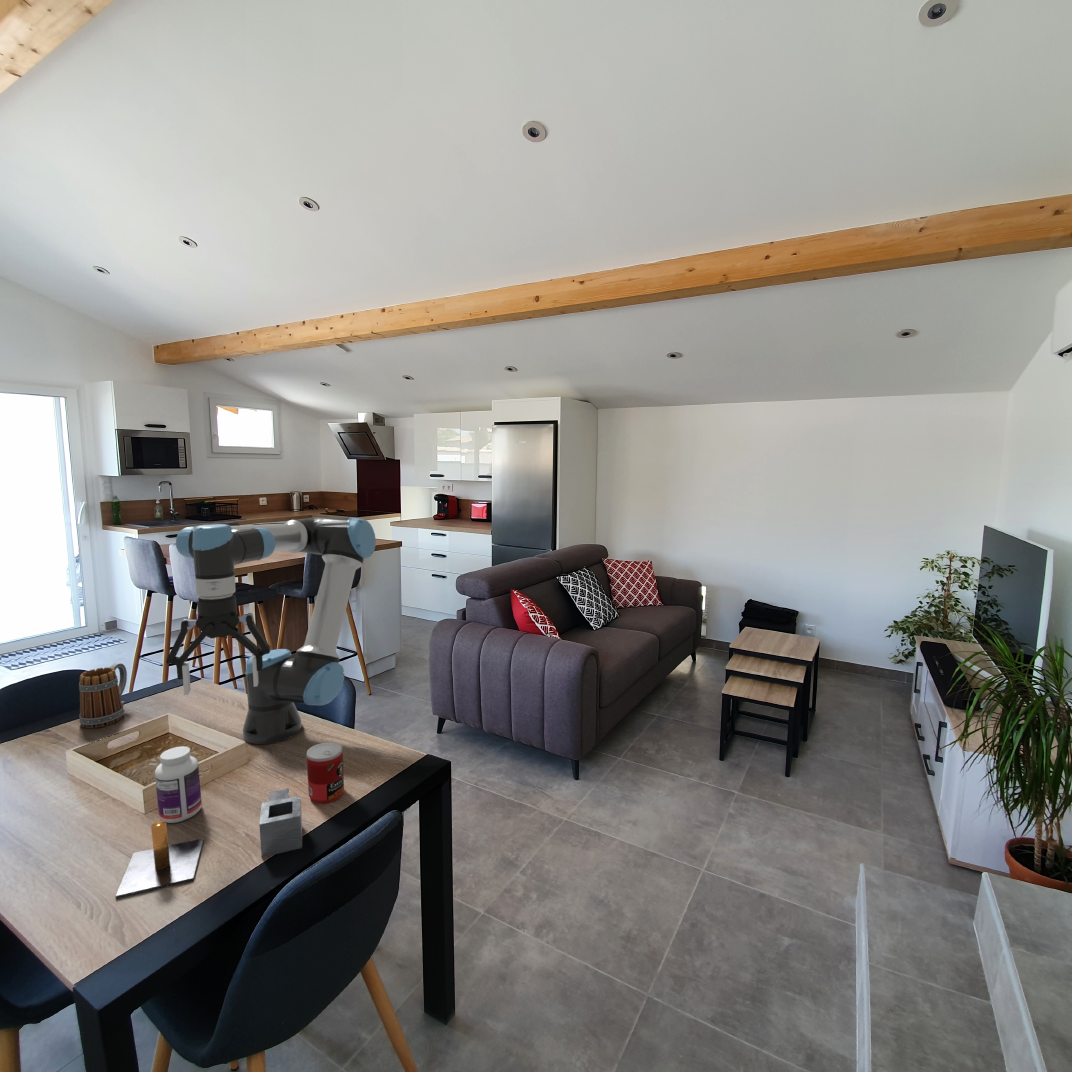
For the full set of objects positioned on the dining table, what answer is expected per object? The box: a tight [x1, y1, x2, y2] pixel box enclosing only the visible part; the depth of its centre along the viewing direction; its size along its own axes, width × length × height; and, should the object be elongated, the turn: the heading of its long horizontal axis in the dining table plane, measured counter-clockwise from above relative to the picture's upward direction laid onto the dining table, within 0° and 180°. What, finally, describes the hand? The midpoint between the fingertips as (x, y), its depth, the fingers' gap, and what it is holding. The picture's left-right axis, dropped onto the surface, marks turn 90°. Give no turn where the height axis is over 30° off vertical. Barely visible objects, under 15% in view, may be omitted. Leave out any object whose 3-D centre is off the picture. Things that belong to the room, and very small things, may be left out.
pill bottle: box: [154, 746, 203, 824], centre depth 125 cm, size 8×8×14 cm
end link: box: [259, 795, 303, 858], centre depth 117 cm, size 7×7×7 cm
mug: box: [78, 662, 128, 729], centre depth 171 cm, size 16×11×15 cm
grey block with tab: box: [267, 788, 290, 802], centre depth 126 cm, size 10×4×3 cm, turn 22°
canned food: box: [305, 741, 345, 804], centre depth 133 cm, size 8×8×11 cm
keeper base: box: [115, 820, 204, 900], centre depth 109 cm, size 12×12×9 cm
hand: (222, 688), depth 128 cm, fingers open, 13 cm apart
